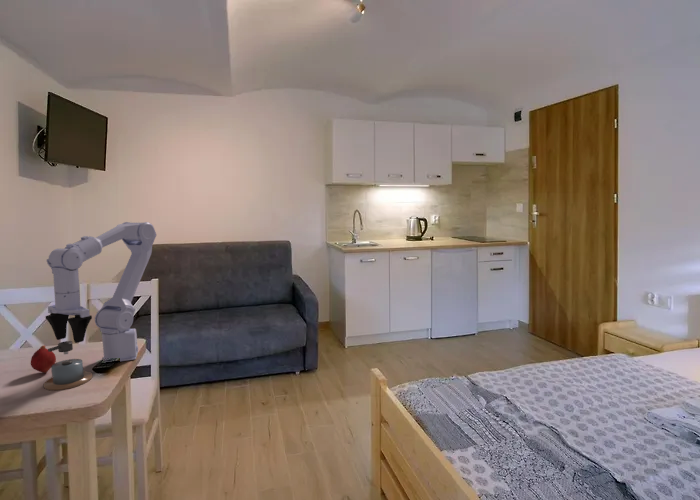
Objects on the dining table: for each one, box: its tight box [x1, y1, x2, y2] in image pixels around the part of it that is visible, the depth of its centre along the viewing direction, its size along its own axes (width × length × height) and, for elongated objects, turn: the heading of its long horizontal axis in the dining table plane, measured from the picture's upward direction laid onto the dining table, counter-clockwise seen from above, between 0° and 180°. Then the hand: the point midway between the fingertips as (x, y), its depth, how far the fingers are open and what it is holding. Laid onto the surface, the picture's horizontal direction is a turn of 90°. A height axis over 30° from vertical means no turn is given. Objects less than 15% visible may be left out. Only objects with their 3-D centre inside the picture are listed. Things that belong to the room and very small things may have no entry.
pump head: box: [47, 340, 74, 355], centre depth 112 cm, size 5×5×3 cm
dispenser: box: [43, 358, 93, 391], centre depth 114 cm, size 11×11×6 cm
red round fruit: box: [30, 345, 57, 374], centre depth 120 cm, size 6×6×8 cm
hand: (70, 340), depth 116 cm, fingers open, 7 cm apart
